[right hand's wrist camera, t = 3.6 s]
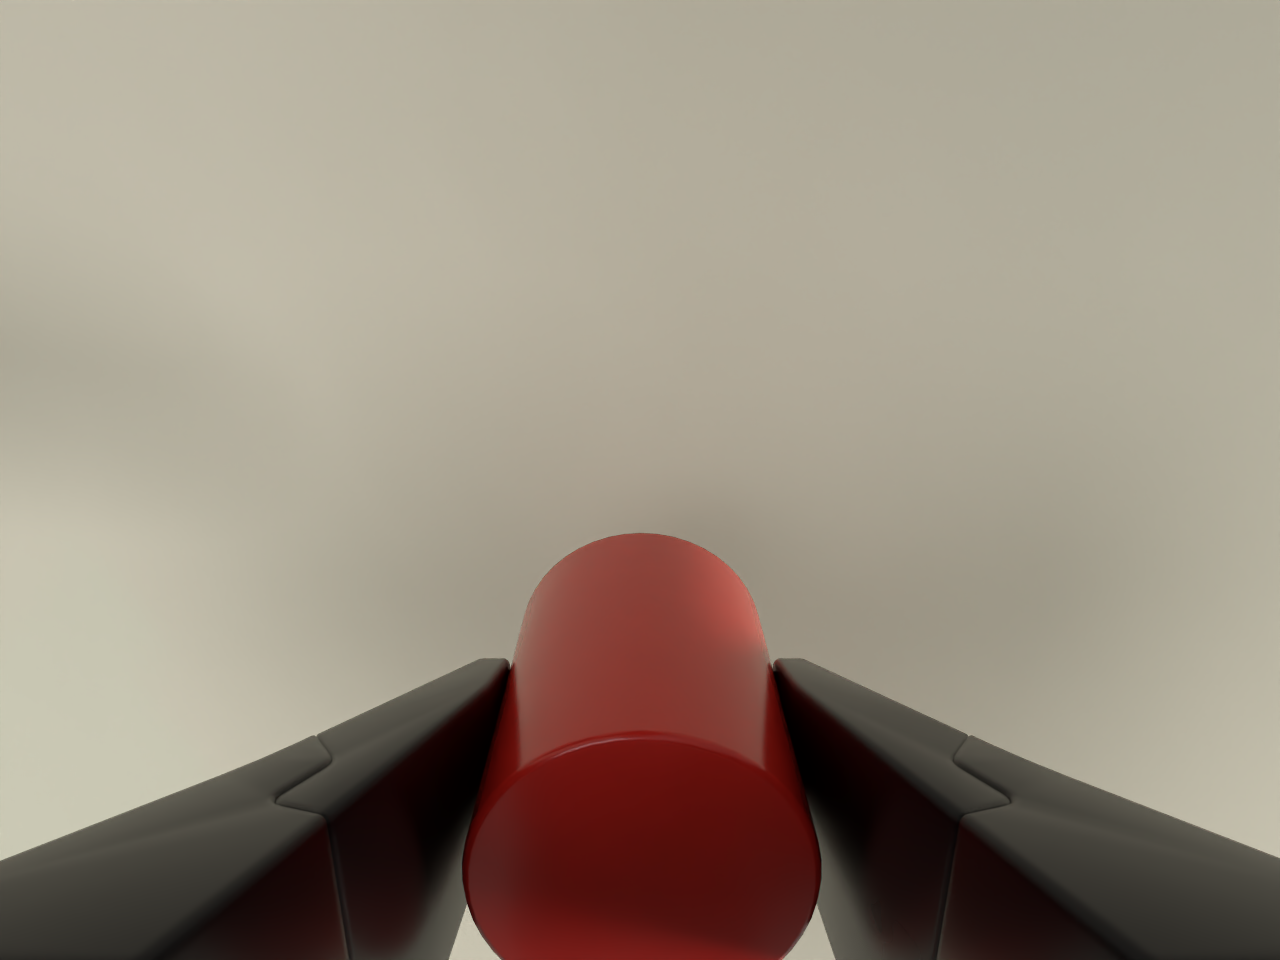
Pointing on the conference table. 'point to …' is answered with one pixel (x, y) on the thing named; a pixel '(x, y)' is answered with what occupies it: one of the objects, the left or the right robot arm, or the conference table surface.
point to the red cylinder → (641, 771)
